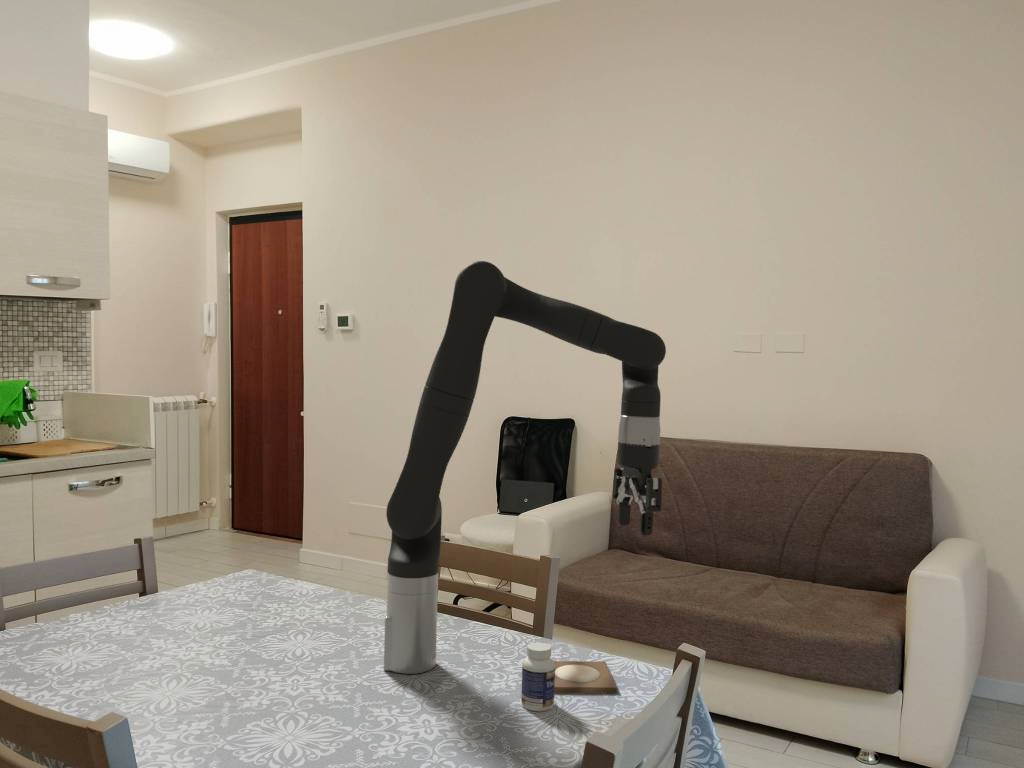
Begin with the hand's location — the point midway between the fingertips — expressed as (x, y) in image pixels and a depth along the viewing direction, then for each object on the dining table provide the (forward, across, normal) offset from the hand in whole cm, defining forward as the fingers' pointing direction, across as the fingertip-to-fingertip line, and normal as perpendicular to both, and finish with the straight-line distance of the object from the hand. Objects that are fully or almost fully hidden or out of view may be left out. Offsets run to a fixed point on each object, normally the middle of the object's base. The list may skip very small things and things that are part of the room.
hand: (634, 529), depth 146 cm
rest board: (+26, +1, -10) cm, 28 cm away
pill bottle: (+27, +9, -21) cm, 35 cm away
